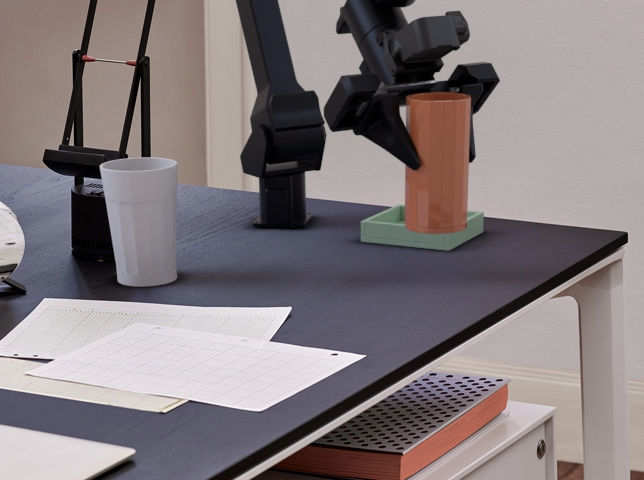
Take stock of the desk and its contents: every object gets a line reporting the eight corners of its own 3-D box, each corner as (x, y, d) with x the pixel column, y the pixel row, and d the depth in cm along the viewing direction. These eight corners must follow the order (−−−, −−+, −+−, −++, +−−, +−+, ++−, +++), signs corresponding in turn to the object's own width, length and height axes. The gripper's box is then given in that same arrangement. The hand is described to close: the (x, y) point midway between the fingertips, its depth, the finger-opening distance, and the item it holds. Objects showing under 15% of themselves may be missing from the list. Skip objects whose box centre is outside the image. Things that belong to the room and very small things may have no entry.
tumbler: (406, 219, 144) (408, 92, 138) (467, 220, 143) (471, 92, 137) (403, 233, 138) (404, 101, 132) (466, 234, 137) (470, 101, 131)
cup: (148, 265, 149) (139, 154, 144) (200, 276, 145) (193, 162, 140) (94, 281, 144) (83, 166, 139) (146, 292, 139) (137, 174, 134)
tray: (360, 241, 158) (360, 221, 157) (398, 224, 166) (398, 204, 165) (449, 251, 153) (449, 229, 152) (483, 232, 161) (484, 211, 160)
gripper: (337, -12, 129) (401, 122, 125) (492, -22, 138) (557, 104, 134) (297, 66, 138) (355, 193, 135) (444, 53, 147) (503, 172, 143)
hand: (445, 164), depth 136 cm, fingers closed on tumbler, 6 cm apart
